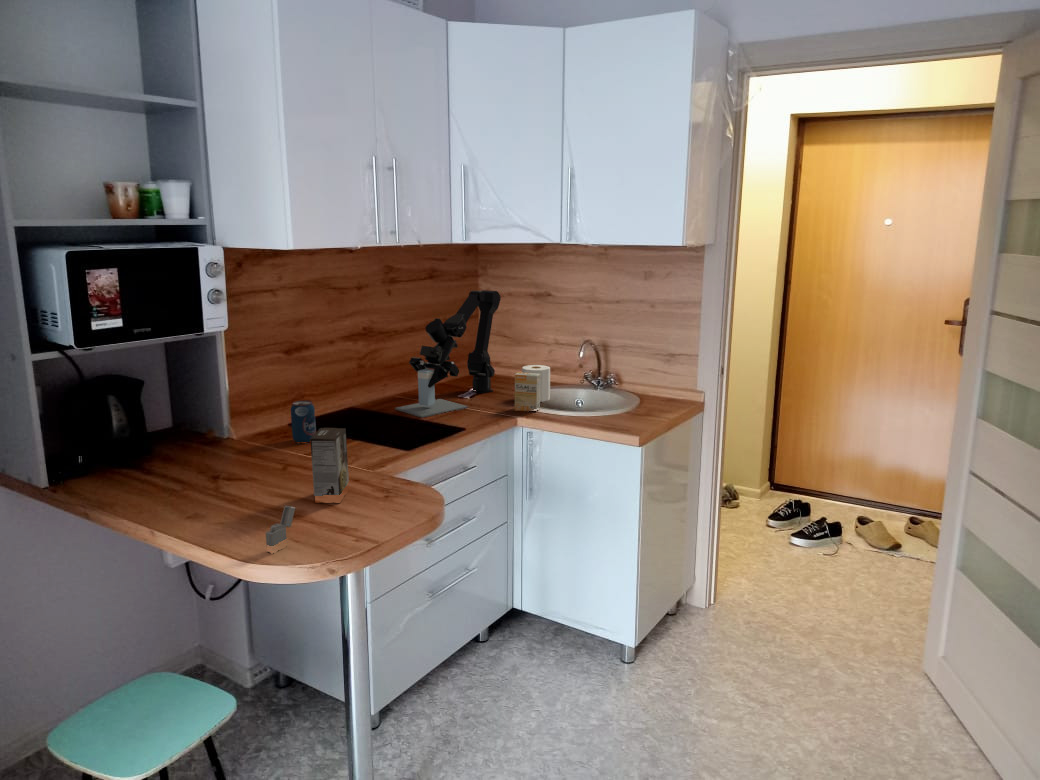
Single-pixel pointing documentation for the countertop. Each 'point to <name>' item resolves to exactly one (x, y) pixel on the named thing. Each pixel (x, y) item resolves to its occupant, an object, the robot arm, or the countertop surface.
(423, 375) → the blue block
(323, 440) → the coffee box
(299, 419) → the soda can
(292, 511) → the lighter
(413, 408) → the grey mat
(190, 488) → the countertop surface
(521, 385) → the supplement box
